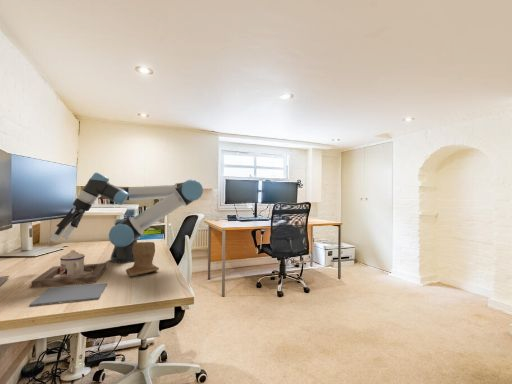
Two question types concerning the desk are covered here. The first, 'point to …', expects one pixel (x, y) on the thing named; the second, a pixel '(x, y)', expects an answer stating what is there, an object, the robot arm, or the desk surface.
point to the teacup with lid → (72, 264)
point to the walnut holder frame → (48, 279)
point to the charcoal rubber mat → (70, 294)
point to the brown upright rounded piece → (142, 258)
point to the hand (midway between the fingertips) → (58, 239)
